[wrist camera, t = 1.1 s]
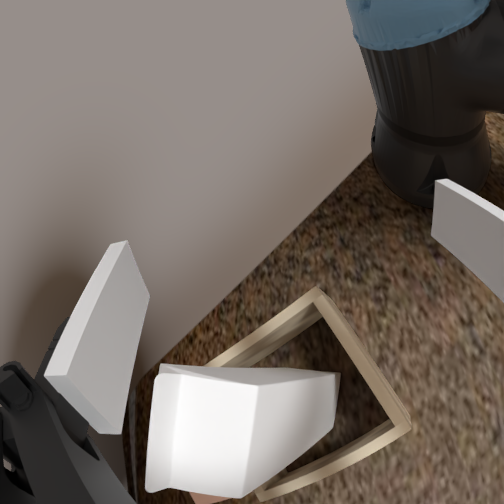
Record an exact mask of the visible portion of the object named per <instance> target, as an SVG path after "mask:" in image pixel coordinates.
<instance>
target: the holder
mask: <svg viewBox="0 0 504 504" xmlns="http://www.w3.org/2000/svg"><path fill="white" fill-rule="evenodd" d="M322 317H324V319H325V320H326V322H327V323H328V325H329V326H330V328H331V329H332V331H333V332H334V334H335V335H336V337H337V338H338V340H339V341H340V343H341V344H342V346H343V347H344V349H345V350H346V352H347V353H348V355H349V356H350V358H351V359H352V361H353V362H354V364H355V365H356V367H357V368H358V370H359V372H360V373H361V375H362V376H363V378H364V379H365V381H366V382H367V384H368V385H369V387H370V388H371V390H372V391H373V393H374V395H375V396H376V398H377V399H378V401H379V402H380V404H381V405H382V407H383V408H384V410H385V412H386V413H387V415H388V416H389V418H390V419H388V420H387V421H385V422H384V423H382V424H381V425H379V426H377V427H376V428H374V429H373V430H371V431H369V432H368V433H366V434H364V435H362V436H361V437H359V438H357V439H356V440H354V441H352V442H350V443H348V444H347V445H345V446H343V447H341V448H339V449H337V450H335V451H333V452H332V453H330V454H328V455H326V456H324V457H322V458H320V459H317V460H315V461H313V462H311V463H309V464H307V465H305V466H303V467H300V468H298V469H296V470H293V471H291V472H289V473H288V472H287V470H286V468H284V469H283V470H281V471H280V472H279V473H277V474H276V475H275V476H273V477H272V478H270V479H269V480H268V481H266V482H265V483H263V484H262V485H260V486H259V487H258V488H256V489H255V490H253V491H254V492H255V494H256V496H257V497H258V499H259V500H260V502H263V501H266V500H269V499H272V498H275V497H278V496H280V495H283V494H286V493H289V492H291V491H294V490H296V489H299V488H302V487H304V486H306V485H309V484H311V483H314V482H316V481H318V480H320V479H323V478H325V477H327V476H329V475H331V474H334V473H336V472H338V471H340V470H342V469H344V468H346V467H348V466H350V465H352V464H354V463H356V462H358V461H359V460H361V459H363V458H365V457H367V456H369V455H370V454H372V453H374V452H376V451H377V450H379V449H381V448H383V447H384V446H386V445H388V444H389V443H391V442H392V441H394V440H396V439H397V438H399V437H400V436H402V435H403V434H405V433H407V432H408V431H410V430H411V429H412V427H411V419H410V415H409V414H408V412H407V410H406V409H405V407H404V406H403V404H402V403H401V401H400V400H399V398H398V396H397V395H396V393H395V392H394V390H393V389H392V387H391V386H390V384H389V383H388V381H387V380H386V378H385V377H384V375H383V374H382V372H381V371H380V369H379V368H378V366H377V365H376V363H375V362H374V360H373V359H372V357H371V356H370V354H369V353H368V351H367V350H366V348H365V347H364V345H363V344H362V342H361V341H360V339H359V338H358V337H357V335H356V334H355V332H354V331H353V329H352V328H351V326H350V325H349V324H348V322H347V321H346V319H345V318H344V316H343V315H342V313H341V312H340V311H339V309H338V308H337V306H336V305H335V304H334V302H333V301H332V299H331V298H330V297H328V296H327V295H326V294H325V293H324V292H323V291H321V290H320V289H319V288H318V287H317V286H315V287H313V288H312V289H311V290H310V291H308V292H307V293H306V294H304V295H303V296H302V297H300V298H299V299H298V300H296V301H295V302H294V303H292V304H291V305H290V306H288V307H287V308H286V309H284V310H283V311H282V312H280V313H279V314H277V315H276V316H275V317H273V318H272V319H271V320H269V321H268V322H266V323H265V324H264V325H262V326H261V327H259V328H258V329H257V330H255V331H254V332H252V333H251V334H250V335H248V336H247V337H245V338H244V339H242V340H241V341H240V342H238V343H237V344H235V345H234V346H232V347H231V348H229V349H228V350H227V351H225V352H224V353H222V354H221V355H219V356H218V357H216V358H215V359H213V360H212V361H210V362H209V363H207V364H206V365H204V367H229V368H249V367H251V366H252V365H254V364H255V363H257V362H259V361H260V360H262V359H263V358H265V357H266V356H268V355H269V354H271V353H272V352H274V351H275V350H277V349H278V348H280V347H281V346H282V345H284V344H285V343H287V342H288V341H290V340H291V339H293V338H294V337H295V336H297V335H298V334H300V333H301V332H303V331H304V330H305V329H307V328H308V327H310V326H311V325H312V324H314V323H315V322H316V321H318V320H319V319H320V318H322Z"/></svg>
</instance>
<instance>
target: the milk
mask: <svg viewBox="0 0 504 504" xmlns="http://www.w3.org/2000/svg"><path fill="white" fill-rule="evenodd" d="M340 379H341V373H338V372H325V371H314V370H304V369H295V368H229V367H204V366H187V365H173V364H160V369H159V374H158V375H157V377H156V378H155V381H154V388H153V397H152V406H151V415H150V425H149V436H148V448H147V462H146V478H145V489H146V491H148V492H150V493H153V492H156V491H160V490H163V489H166V488H174V489H179V490H184V491H189V492H194V493H200V494H206V495H213V496H221V497H229V498H242V497H244V496H245V495H247V494H249V493H250V492H252V491H253V490H255V489H256V488H258V487H259V486H260V485H262V484H263V483H265V482H266V481H268V480H269V479H270V478H272V477H273V476H275V475H276V474H277V473H279V472H280V471H281V470H283V469H284V468H285V467H287V466H288V465H289V464H291V463H292V462H293V461H294V460H296V459H297V458H298V457H300V456H301V455H302V454H303V453H304V452H306V451H307V450H308V449H309V448H311V447H312V446H313V445H314V444H315V443H316V442H318V441H319V440H320V439H321V438H322V437H323V436H325V435H326V434H327V433H328V432H329V431H330V430H331V429H332V428H333V426H334V420H335V414H336V408H337V401H338V394H339V387H340Z"/></svg>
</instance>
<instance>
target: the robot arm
mask: <svg viewBox="0 0 504 504" xmlns="http://www.w3.org/2000/svg"><path fill="white" fill-rule="evenodd" d="M346 4H347V8H348V11H349V14H350V17H351V21H352V24H353V35H354V37H355V39H356V41H357V43H358V44H359V46H360V49H361V52H362V55H363V58H364V62H365V65H366V68H367V72H368V75H369V78H370V82H371V85H372V89H373V93H374V97H375V100H376V104H377V108H378V109H377V114H376V119H375V126H374V128H373V132H372V138H371V147H372V154H373V158H374V162H375V166H376V169H377V171H378V173H379V175H380V177H381V179H382V180H383V181H384V183H385V184H386V185H387V186H388V187H389V188H390V189H391V190H392V191H393V192H394V193H396V194H397V195H398V196H400V197H401V198H403V199H405V200H406V201H409V202H411V203H413V204H416V205H419V206H422V207H427V208H433V220H432V230H431V236H432V237H433V238H434V239H436V240H437V241H438V242H439V243H440V244H442V245H443V246H444V247H445V248H446V249H447V250H448V251H450V252H451V253H452V254H453V255H454V256H455V257H456V258H458V259H459V260H460V261H461V262H462V263H463V264H464V265H465V266H466V267H467V268H469V269H470V270H471V271H472V272H473V273H474V274H475V275H476V276H477V277H478V278H479V279H480V280H481V281H482V282H483V283H484V284H485V285H486V286H487V287H489V288H490V289H491V290H492V291H493V292H494V293H495V294H496V295H497V296H498V298H499V299H500V300H501V301H502V302H503V303H504V211H503V210H501V209H500V208H498V207H497V206H495V205H493V204H492V203H490V202H488V201H487V200H485V199H483V198H482V197H480V196H478V195H477V194H478V193H479V192H480V191H481V189H482V188H483V186H484V184H485V182H486V179H487V176H488V173H489V170H490V165H491V148H490V144H489V140H488V135H487V130H486V125H485V114H486V111H489V112H495V113H501V114H504V0H346ZM149 299H150V294H149V292H148V290H147V288H146V285H145V284H144V281H143V278H142V276H141V274H140V271H139V269H138V266H137V264H136V261H135V259H134V256H133V254H132V251H131V249H130V246H129V244H128V241H127V240H126V241H122V242H118V243H114V244H111V245H110V246H109V248H108V249H107V251H106V253H105V255H104V256H103V258H102V260H101V261H100V263H99V265H98V266H97V268H96V270H95V272H94V273H93V275H92V277H91V279H90V281H89V282H88V284H87V286H86V288H85V290H84V292H83V294H82V296H81V297H80V299H79V301H78V303H77V305H76V307H75V309H74V311H73V313H72V315H71V317H67V319H66V320H65V321H64V322H63V323H62V324H61V325H60V326H59V327H58V329H57V331H56V333H55V335H54V337H53V341H52V342H51V344H50V346H49V348H48V349H49V350H48V351H47V352H46V354H45V356H44V359H43V361H42V363H41V365H40V368H39V370H38V372H37V375H36V377H35V379H33V378H32V377H31V376H30V375H29V374H28V372H27V371H26V370H25V369H24V368H23V366H22V365H21V364H20V363H19V362H16V361H12V362H8V363H6V364H4V365H3V366H1V367H0V404H1V405H2V406H3V407H0V504H136V502H135V501H134V500H133V499H132V497H131V496H130V495H129V493H128V492H127V491H126V489H125V488H124V487H123V485H122V484H121V482H120V481H119V480H118V478H117V477H116V475H115V474H114V472H113V471H112V469H111V468H110V466H109V465H108V463H107V462H106V460H105V459H104V457H103V456H102V454H101V452H100V451H99V449H98V448H97V446H96V444H95V443H94V441H93V439H92V438H91V437H90V436H89V435H88V434H87V430H88V426H89V424H90V425H91V426H92V427H93V428H94V429H95V430H96V431H97V432H99V434H121V432H122V426H123V420H124V414H125V408H126V402H127V397H128V392H129V386H130V381H131V375H132V371H133V366H134V362H135V357H136V353H137V348H138V344H139V339H140V335H141V331H142V327H143V322H144V318H145V314H146V310H147V307H148V302H149ZM3 459H5V460H6V461H7V462H9V463H10V464H11V468H12V469H11V471H9V470H8V469H6V468H5V467H4V464H3Z"/></svg>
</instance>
